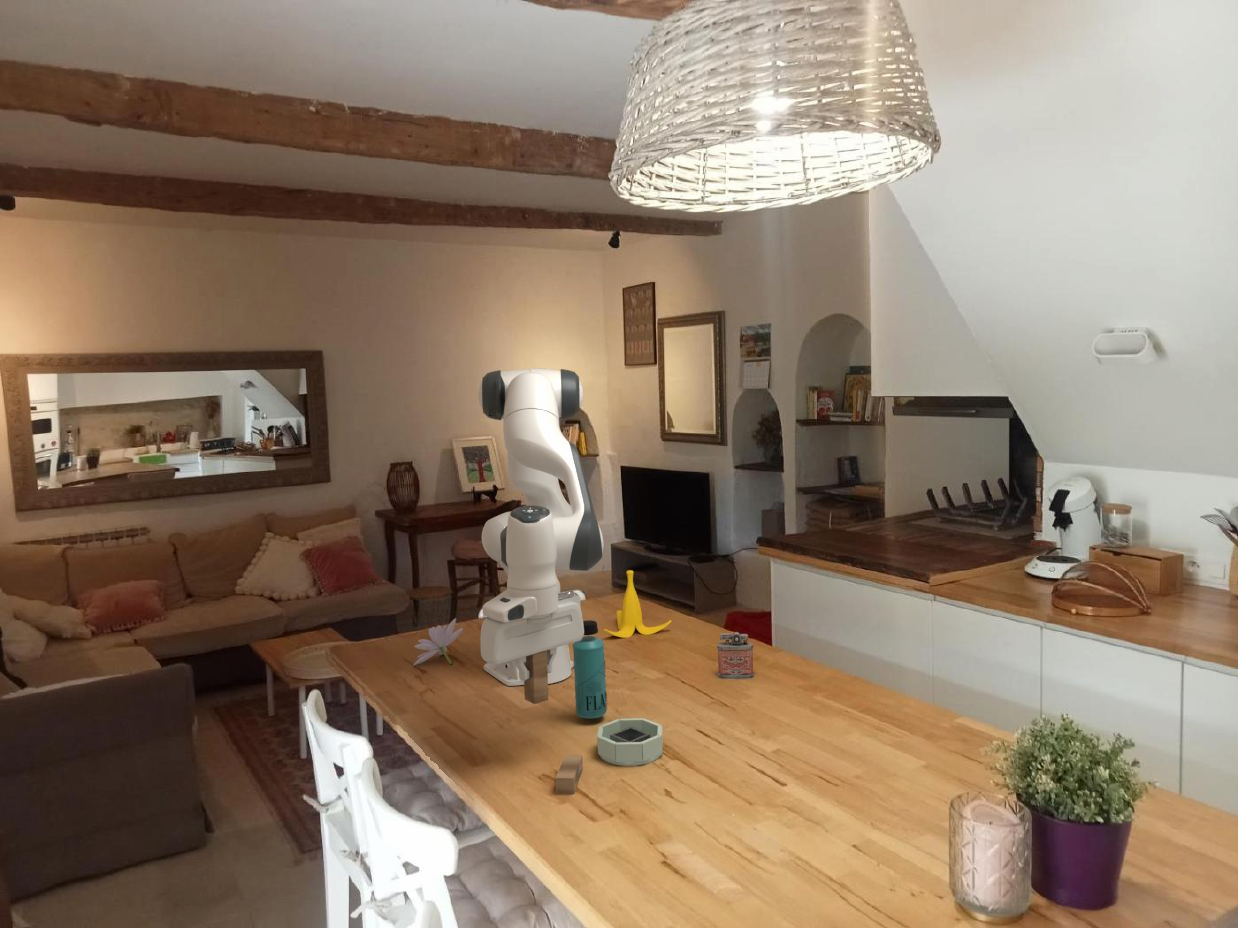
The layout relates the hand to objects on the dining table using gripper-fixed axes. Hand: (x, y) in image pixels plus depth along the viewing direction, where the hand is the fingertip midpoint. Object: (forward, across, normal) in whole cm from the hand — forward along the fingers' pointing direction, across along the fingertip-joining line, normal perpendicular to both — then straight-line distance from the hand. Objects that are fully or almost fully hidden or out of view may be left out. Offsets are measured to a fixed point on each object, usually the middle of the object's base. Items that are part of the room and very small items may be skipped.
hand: (535, 675), depth 158 cm
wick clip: (+16, -14, +9) cm, 23 cm away
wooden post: (+4, 0, 0) cm, 4 cm away
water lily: (+18, -17, -65) cm, 70 cm away
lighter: (+16, -57, -4) cm, 59 cm away
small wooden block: (+16, +1, +10) cm, 19 cm away
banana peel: (+18, -63, -47) cm, 80 cm away
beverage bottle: (+16, -19, -8) cm, 27 cm away
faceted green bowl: (+16, -14, +9) cm, 23 cm away
